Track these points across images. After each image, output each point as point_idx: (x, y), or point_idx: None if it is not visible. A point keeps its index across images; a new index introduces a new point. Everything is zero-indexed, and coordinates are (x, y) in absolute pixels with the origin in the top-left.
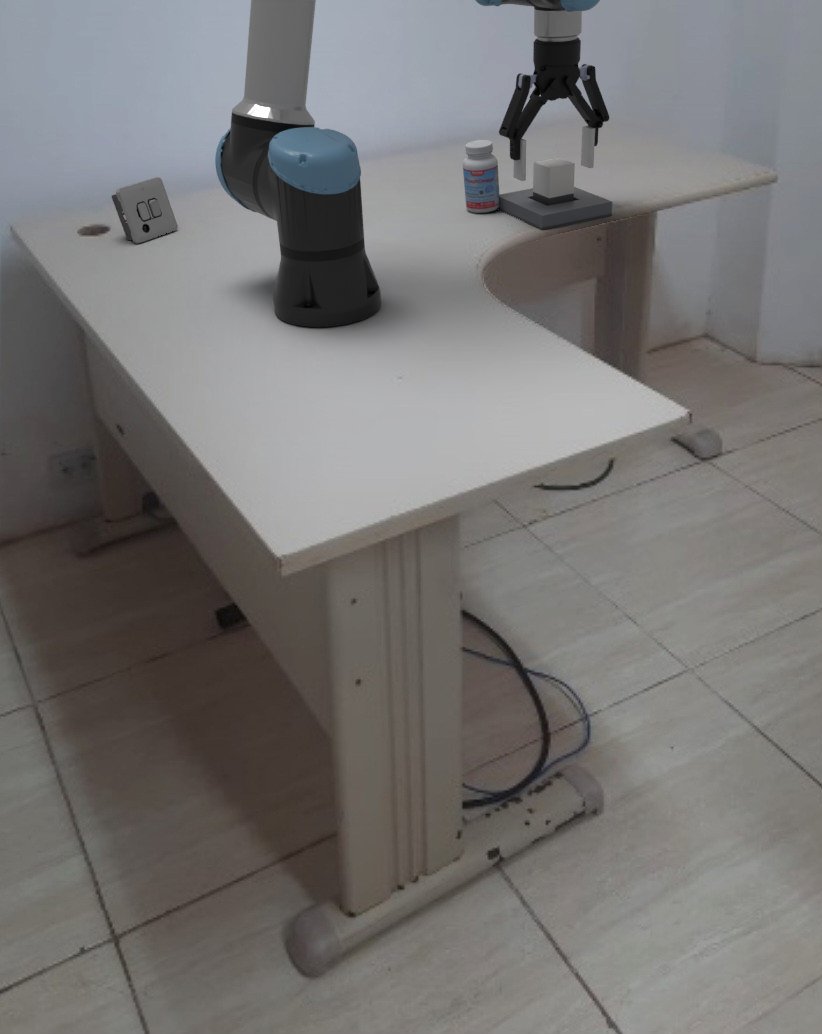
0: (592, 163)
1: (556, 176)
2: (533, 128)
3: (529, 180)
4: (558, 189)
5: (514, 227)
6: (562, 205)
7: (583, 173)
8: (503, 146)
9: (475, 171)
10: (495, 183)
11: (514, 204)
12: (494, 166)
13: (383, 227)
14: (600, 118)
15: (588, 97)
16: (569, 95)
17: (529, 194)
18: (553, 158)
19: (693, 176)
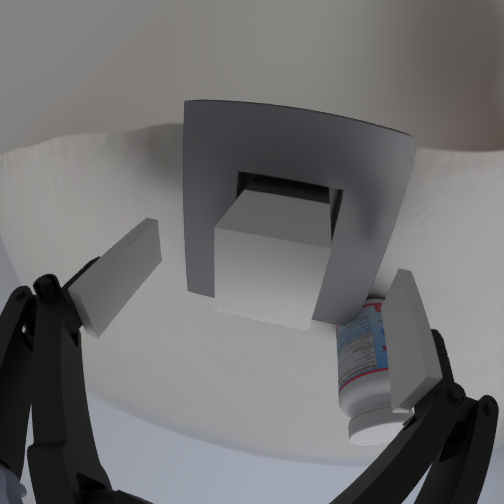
0: (142, 224)
1: (301, 226)
2: (119, 404)
3: (197, 353)
4: (296, 205)
5: (428, 198)
6: (312, 162)
7: (119, 317)
8: (161, 409)
9: None
10: (374, 339)
11: (380, 263)
12: (379, 372)
13: (499, 342)
14: (34, 309)
15: (28, 400)
16: (93, 477)
17: None
18: (232, 314)
19: (24, 206)
